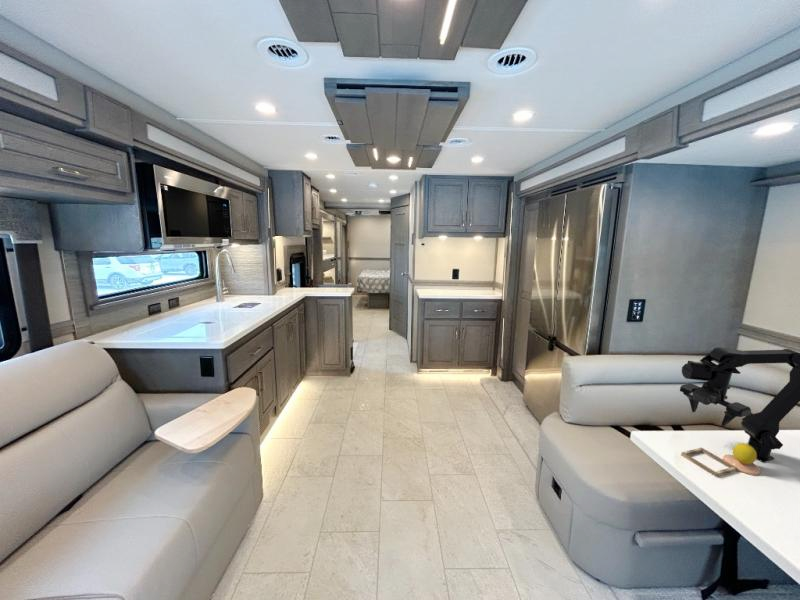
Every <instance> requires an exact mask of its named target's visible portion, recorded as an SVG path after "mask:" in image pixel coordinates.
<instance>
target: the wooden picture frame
mask: <svg viewBox="0 0 800 600" xmlns="http://www.w3.org/2000/svg"><path fill="white" fill-rule="evenodd" d="M700 453H703V454H704V455H707V456H709V457H710V458H712V459H713V460H715V461H717V462H718V463H720V464H722V465H724V466H725V467H727V468H724V469H721V470H717V471H716V470H714V469H712V468H711V467H708V466H707V465H705V464H704V463H702V462H700V461H699V460H697V459H695V458H694V457H692V456H691V455H696V454H700ZM680 456H681V457H683V458H685V459H687V460H688V461H690V462H691V463H692V464H694V465H696V466H697V467H699V468H700V469H703V470H704V471H706V472H707V473H709V474H710V473H711V474H710V475H712V476H714V477H715V478H717V477H720V476H721V477H722V476H723V475H724V476H725V475H727V474H731V473H735V472H738V471H737V467H735V466H733V465H732V464H730V463H728V462H726V461H725V460H723V458H721V457H720V456H717V455H715V454H714V453H712V452H711V451H709V450H707V449H705V448H704V447H697V448H694V449H690V450H685V451H682V452H681V454H680Z"/></svg>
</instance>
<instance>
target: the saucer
mask: <svg viewBox="0 0 800 600" xmlns="http://www.w3.org/2000/svg"><path fill="white" fill-rule="evenodd" d="M722 459H723V460H725V461H726V462H728V463H730V464H732V465H733V466H735V467H737V471H736V472H739V473H743V474H745V475H749V476H759V475H761V469H760V468H759V466H758V465H756V464H755V463H754V462H753V463H751V464H742V463H740V462H739V461H738V460H737V459H736V458H735V457H734V455H733V454H724V455H723V456H722Z"/></svg>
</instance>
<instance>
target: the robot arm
mask: <svg viewBox="0 0 800 600" xmlns="http://www.w3.org/2000/svg"><path fill="white" fill-rule="evenodd" d="M752 364H753V365H755V364H757V365H758V364H787V365H789V366H790V367H791V370H790V371H789V381H788V382H787V383H786V384H785V386H783V388H781V390H780V391H779V392H778V393H777V394H776V395H775V396H774V397H773V398H772V400H770V402H768V404H767V405H765V406H764V407H763V409H762V410H761V411H759V412H755V413H752V409H751V407H750V406H747V405H746V404H743V403H740V402H738V401H736V402H729V401H727V399H728V397H729V396H728V395H727V393H728V390H730V389H731V387H732V386H731V385H730V382H731V379H732V374H736V375H738V374H741V372H740V371H739V370H738V369H737V368H740V367H741V368H742V367H743V366H746V365H752ZM681 374H682V376H683V378H684V379H685V380H695V381H702V382H703V381H704V382H703V383H702V385H701V386H699V385H696V384H695V383H694V384H693V383H685V384H682V385H680V388H679V391H680V392H681V393H683V395H684V396H685V397H686V398H687V399H688V401H689V404H690V408H691V412H692V413H695V412H696V411H697V409H698V406H699V404H700V403H701V404H702V405H705V406H708V405H711V404H713V405H715V406H716V405H718V404H719V405H721V406H722V407H725V410H724V412H723V413H724V417H723V418H722V421H721V427H725V426H727V425H728V424H729V423H730V422H732V420H733V419H735V418H736V417H737V418H741V427H742V428H743V430H744V433H745V434H747V435H748V436H749V438H748V441H747V444H749V445H750V446H752V447H753V448H754V449H755V451H756V454H757V457H756V460H758V461H760V462H761V463H766V462H769V461H772V460H775V457H774V456H772V455H771V452H772V450H780V449H781V448H782V447H783V446H784V444H783V443H782V441H780V440H779V439H778V438H777V435H778V434H779V433H780V422H781V421H783V420H784V418H785V417H787V415H788V414H789V413H790V412H791V411H793V409H794V408H795V407H796V406H797V405H798V404H799V402H800V352H798V351H796V350H793V349H791V348H784V349H763V350H761V349H760V350H759V349H757V350H741V349H740V350H739V349H735V348H729V347H721V346H719V347H718V346H717V347H714V348H713V349H712V350H711V351H710V352H709V353H708V354H706V355H705V356H704V357H702V358H701V359H699V361H693V360H688V361H687V363H685V364H684V365H682V367H681Z"/></svg>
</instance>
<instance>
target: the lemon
mask: <svg viewBox="0 0 800 600" xmlns="http://www.w3.org/2000/svg"><path fill="white" fill-rule="evenodd" d="M732 455H734V457H735V458H736V459H737V460H738V461H739V462H740V463H742V464H751V463H754V462H756V460H757V459H756V457H757V454H756V451H755V449H754V448H753V447H752V446H750V445H749V444H748V443H744V442H742V443H741V442H740V443H737V444H735V445H734V447H733V449H732Z"/></svg>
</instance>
